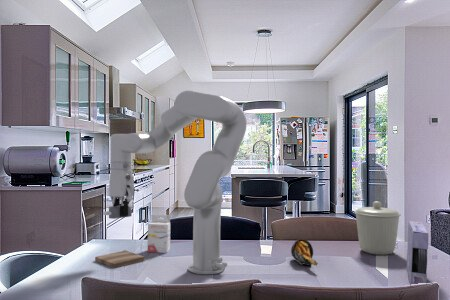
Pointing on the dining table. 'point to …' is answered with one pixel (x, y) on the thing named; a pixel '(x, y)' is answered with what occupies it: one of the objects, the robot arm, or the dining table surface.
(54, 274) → the dining table surface
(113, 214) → the grey double dome block
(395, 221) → the canister
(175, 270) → the dining table surface
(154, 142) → the robot arm
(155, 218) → the ink cartridge box
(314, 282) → the dining table surface
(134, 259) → the walnut board
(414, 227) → the cake pan box
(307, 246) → the fried shrimp in bowl
